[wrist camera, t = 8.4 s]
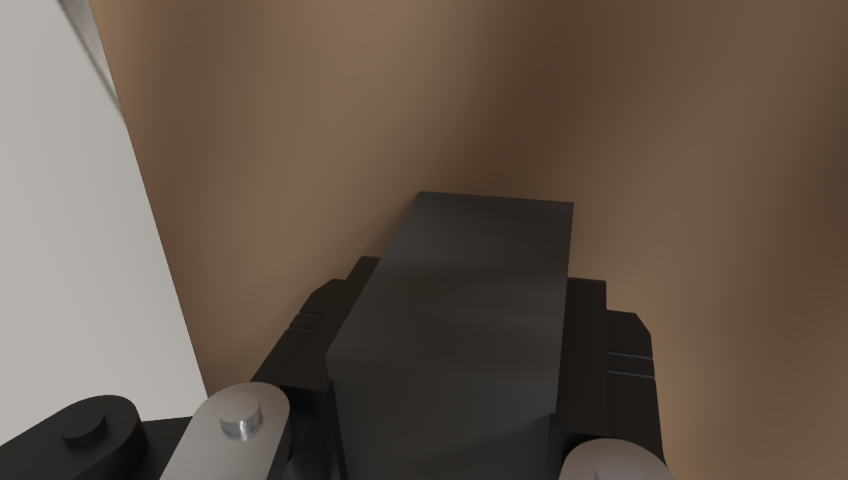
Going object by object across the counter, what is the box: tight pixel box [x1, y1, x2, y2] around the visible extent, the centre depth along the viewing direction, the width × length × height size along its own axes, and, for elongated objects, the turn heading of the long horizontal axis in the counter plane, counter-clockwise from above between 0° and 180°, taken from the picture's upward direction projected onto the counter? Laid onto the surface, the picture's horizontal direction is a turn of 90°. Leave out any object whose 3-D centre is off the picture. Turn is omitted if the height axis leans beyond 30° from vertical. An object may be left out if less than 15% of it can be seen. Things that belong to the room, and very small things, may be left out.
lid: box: [89, 0, 848, 480], centre depth 11 cm, size 16×16×6 cm
